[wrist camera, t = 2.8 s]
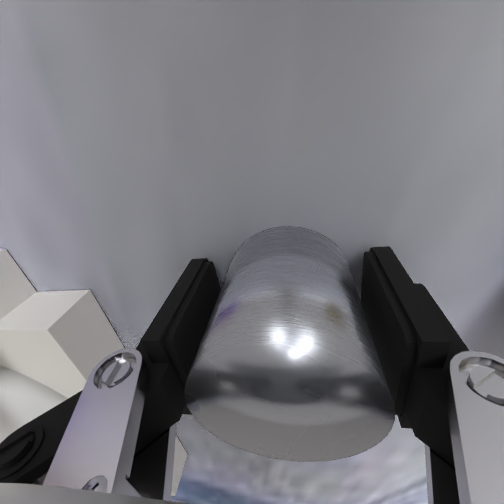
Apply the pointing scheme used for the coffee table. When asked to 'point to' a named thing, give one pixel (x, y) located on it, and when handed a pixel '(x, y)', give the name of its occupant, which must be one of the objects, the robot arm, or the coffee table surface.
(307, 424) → the cylinder
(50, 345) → the scale
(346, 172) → the coffee table surface
